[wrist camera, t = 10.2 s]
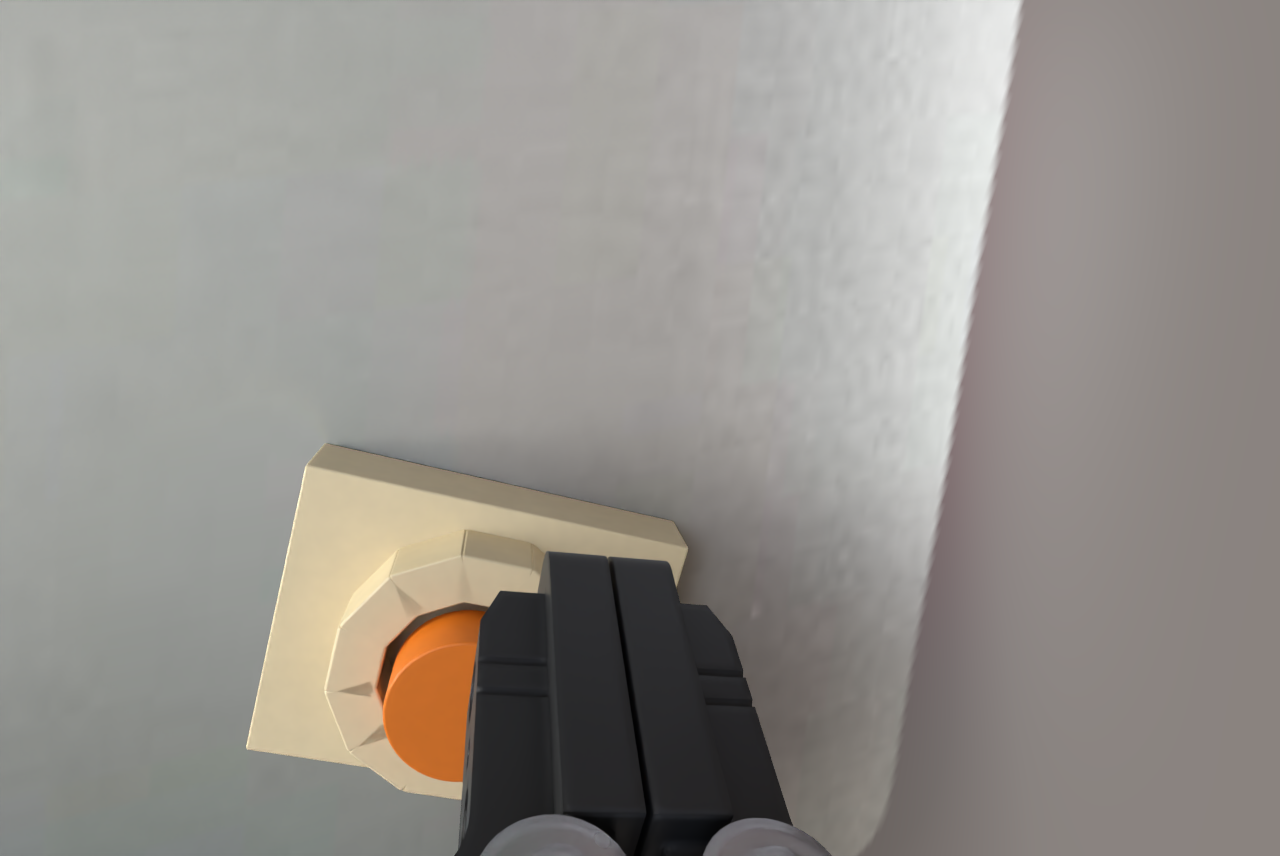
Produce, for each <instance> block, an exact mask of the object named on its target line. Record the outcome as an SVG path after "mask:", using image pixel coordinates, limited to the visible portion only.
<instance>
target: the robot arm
mask: <svg viewBox="0 0 1280 856" xmlns="http://www.w3.org/2000/svg"><path fill="white" fill-rule="evenodd" d="M454 856H831V854H830V853H829V852H828V851H827V850H826V849H825V848H824V847H823V846H822V845H821V844H820V843H818V842H817V841H816V840H815V839H814V838H812V837H811V836H809V835H808V834H806V833H805V832H803V831H802V830H799V829H797V828H795V827H793V824H792V822H791V819H790V817H789V813H788V810H787V807H786V804H785V801H784V798H783V795H782V791H781V788H780V785H779V782H778V779H777V776H776V772H775V769H774V766H773V763H772V760H771V757H770V754H769V750H768V747H767V744H766V741H765V738H764V735H763V731H762V728H761V725H760V722H759V719H758V716H757V713H756V709H755V707H752V697H751V694H750V690H749V687H748V684H747V681H746V678H743V668H742V665H741V662H740V659H739V656H738V653H737V649H736V646H735V643H734V640H733V637H732V635H731V634H730V633H729V632H728V630H727V629H726V628H725V627H724V626H723V624H722V623H721V622H720V621H719V620H718V618H717V617H716V616H715V615H714V614H713V612H712V611H711V610H710V609H709V608H708V606H706V605H692V604H680V600H679V596H678V592H677V589H676V585H675V581H674V577H673V573H672V569H671V566H670V564H669V563H668V562H667V561H660V560H648V559H636V558H624V557H611V556H610V557H608V559H607V557H606V556H602V555H590V554H578V553H566V552H553V551H547V552H546V553H545V556H544V560H543V565H542V570H541V575H540V581H539V586H538V592H537V593H527V592H513V591H500V592H499V593H498V595H497V596H496V598H495V599H494V601H493V602H492V604H491V605H490V607H489V608H488V610H487V611H486V613H485V614H484V616H483V617H482V618H481V620H480V627H479V634H478V641H477V648H476V655H475V662H474V669H473V676H472V683H471V690H470V697H469V704H468V711H467V723H466V738H465V756H464V769H463V787H462V799H461V815H460V830H459V845H458V851H457V853H456V854H455V855H454Z"/></svg>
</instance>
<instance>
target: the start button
mask: <svg viewBox="0 0 1280 856" xmlns="http://www.w3.org/2000/svg"><path fill="white" fill-rule="evenodd" d="M485 613H486V612H485V611H478V610H460V611H453V612H449V613H445V614H442V615H439V616H437V617H434V618H432V619H430V620H428V621H427V622H425V623H424V624H422V625H421V626H419V627H418V628H417V629H416V630H415V631H413V632H412V633H411V634H410V636H409V637H408V638H407V639H406V640H405V642H404V643H403V645H402V646H401V648H400V650H399V652H398V654H397V656H396V659H395V662H394V665H393V669H392V673H391V676H390V680H389V684H388V688H387V691H386V695H385V699H384V704H383V725H384V730H385V733H386V736H387V738H388V741H389V743H390V745H391V746H392V748H393V749H394V751H395V753H396V754H397V755H398V756H399V757H400V758H401V759H402V761H404V762H405V763H406V764H407V765H408V766H409V767H411V768H413V769H414V770H416V771H417V772H419V773H421V774H423V775H425V776H428V777H431V778H434V779H437V780H442V781H448V782H463V769H464V756H465V738H466V723H467V711H468V704H469V697H470V690H471V683H472V676H473V669H474V662H475V655H476V648H477V641H478V634H479V627H480V620H481V618H482V617H483V616H484V614H485Z"/></svg>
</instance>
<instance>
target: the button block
mask: <svg viewBox="0 0 1280 856" xmlns="http://www.w3.org/2000/svg"><path fill="white" fill-rule="evenodd" d="M547 551H553V552H566V553H578V554H590V555H602V556H606V557H607V559H608V557H610V556H611V557H624V558H636V559H648V560H660V561H667V562H668V563H669V564H670V566H671V569H672V573H673V577H674V581H675V585H676V588H677V585H678V581H679V578H680V575H681V572H682V568H683V565H684V562H685V559H686V555H687V552H688V547H687V545H686V543H685V542H684V540H683V538H682V536H681V534H680V533H679V531H678V529H677V527H676V525H675V523H674V522H673V521H670V520H665V519H661V518H656V517H652V516H647V515H643V514H639V513H634V512H630V511H625V510H621V509H616V508H612V507H607V506H603V505H599V504H594V503H590V502H585V501H581V500H576V499H572V498H567V497H563V496H558V495H554V494H550V493H545V492H541V491H536V490H532V489H527V488H523V487H518V486H514V485H509V484H505V483H501V482H496V481H492V480H487V479H483V478H478V477H474V476H469V475H465V474H461V473H456V472H452V471H447V470H443V469H438V468H434V467H429V466H425V465H420V464H416V463H412V462H407V461H403V460H398V459H394V458H389V457H385V456H380V455H376V454H371V453H367V452H363V451H358V450H354V449H349V448H345V447H340V446H336V445H331V444H327V443H326V444H324V445H323V446H322V447H321V449H320V450H319V451H318V452H317V453H316V454H315V456H314V457H313V458H312V459H311V460H310V461H309V463H308V464H307V465H306V466H305V471H304V476H303V480H302V485H301V490H300V495H299V499H298V504H297V509H296V514H295V518H294V523H293V528H292V532H291V537H290V542H289V547H288V551H287V556H286V561H285V566H284V570H283V575H282V580H281V584H280V589H279V594H278V599H277V603H276V608H275V613H274V617H273V622H272V627H271V632H270V636H269V641H268V646H267V651H266V655H265V660H264V665H263V669H262V674H261V679H260V684H259V688H258V693H257V698H256V703H255V707H254V712H253V717H252V721H251V726H250V731H249V736H248V740H247V745H246V748H247V749H248V750H255V751H261V752H268V753H275V754H281V755H288V756H295V757H301V758H308V759H315V760H321V761H328V762H335V763H341V764H348V765H355V766H361V767H368V768H370V769H372V770H373V771H375V772H376V773H377V774H379V775H380V776H381V777H383V778H384V779H385V780H387V781H388V782H390V783H391V784H392V785H394V786H395V787H396V788H398V789H399V790H403V791H405V792H409V793H416V794H423V795H430V796H437V797H444V798H450V799H457V800H461V799H462V787H463V782H448V781H442V780H437V779H434V778H431V777H428V776H425V775H423V774H421V773H419V772H417V771H416V770H414V769H413V768H411V767H409V766H408V765H407V764H406V763H405V762H404V761H402V759H401V758H400V757H399V756H398V755H397V754H396V753H395V751H394V749H393V748H392V746H391V745H390V743H389V741H388V738H387V736H386V733H385V730H384V725H383V704H384V699H385V695H386V691H387V688H388V684H389V680H390V676H391V673H392V669H393V665H394V662H395V659H396V656H397V654H398V652H399V650H400V648H401V646H402V645H403V643H404V642H405V640H406V639H407V638H408V637H409V636H410V634H411V633H412V632H413V631H415V630H416V629H417V628H418V627H419V626H421V625H422V624H424V623H425V622H427V621H428V620H430V619H432V618H434V617H437V616H439V615H442V614H445V613H449V612H453V611H460V610H478V611H485V612H486V611H487V610H488V608H489V607H490V605H491V604H492V602H493V601H494V599H495V598H496V596H497V595H498V593H499V592H500V591H513V592H527V593H537V592H538V586H539V581H540V575H541V570H542V565H543V560H544V556H545V553H546V552H547Z"/></svg>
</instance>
